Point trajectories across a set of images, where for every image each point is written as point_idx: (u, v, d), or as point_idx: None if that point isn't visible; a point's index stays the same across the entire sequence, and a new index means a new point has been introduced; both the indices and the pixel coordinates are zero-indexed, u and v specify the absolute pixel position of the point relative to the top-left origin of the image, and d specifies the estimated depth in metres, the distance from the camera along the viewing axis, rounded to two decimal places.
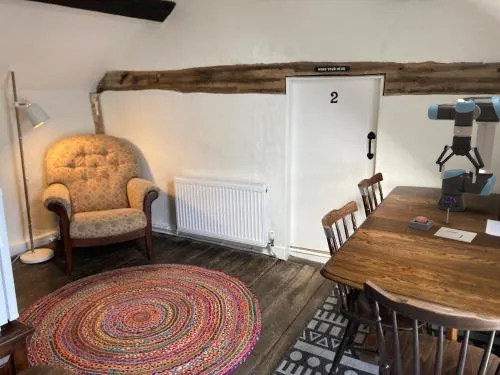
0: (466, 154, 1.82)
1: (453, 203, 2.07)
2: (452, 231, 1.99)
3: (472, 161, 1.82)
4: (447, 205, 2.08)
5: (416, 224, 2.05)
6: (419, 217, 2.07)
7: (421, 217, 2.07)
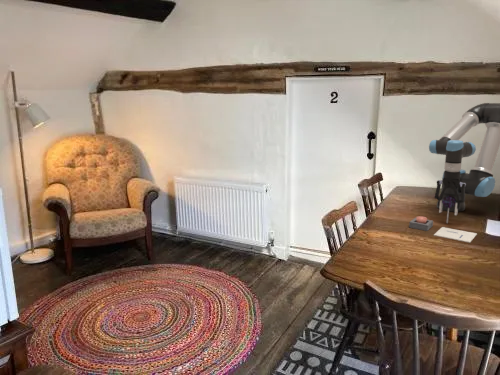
0: (454, 188, 2.05)
1: (453, 203, 2.07)
2: (452, 231, 1.99)
3: (456, 195, 2.06)
4: (447, 205, 2.08)
5: (416, 224, 2.05)
6: (419, 217, 2.07)
7: (421, 217, 2.07)
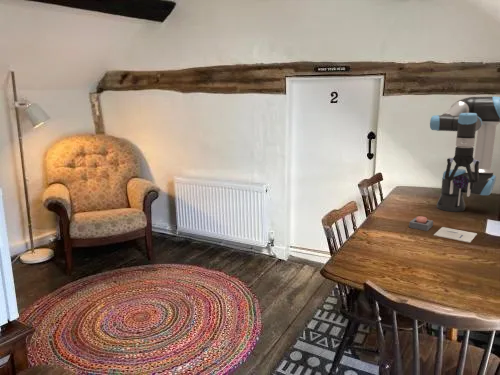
0: (466, 166, 1.85)
1: (465, 183, 1.86)
2: (452, 231, 1.99)
3: (469, 174, 1.85)
4: (459, 185, 1.88)
5: (416, 224, 2.05)
6: (419, 217, 2.07)
7: (421, 217, 2.07)
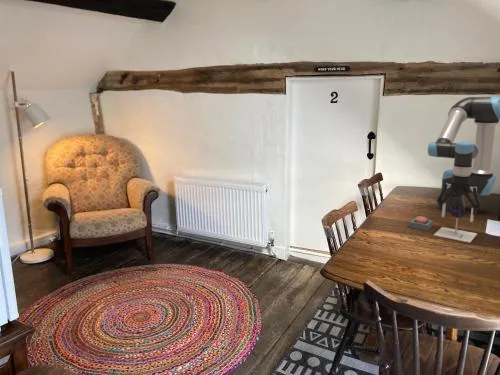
0: (465, 193, 1.88)
1: (462, 213, 1.90)
2: (452, 231, 1.99)
3: (470, 200, 1.87)
4: (456, 215, 1.91)
5: (416, 224, 2.05)
6: (419, 217, 2.07)
7: (421, 217, 2.07)
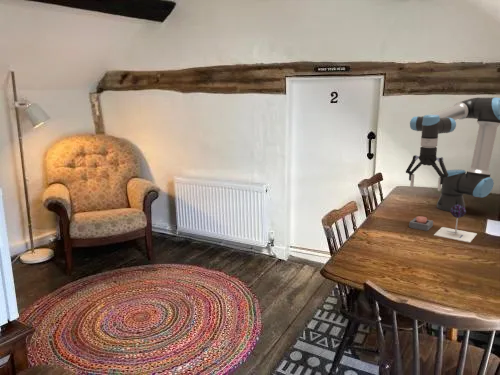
0: (432, 164, 1.97)
1: (462, 212, 1.90)
2: (452, 231, 1.99)
3: (437, 170, 1.96)
4: (456, 215, 1.91)
5: (416, 224, 2.05)
6: (419, 217, 2.07)
7: (421, 217, 2.07)
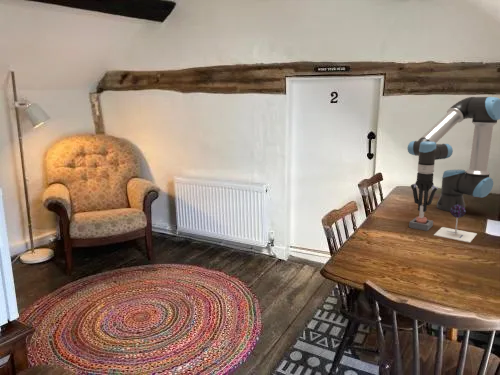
0: (425, 190, 2.01)
1: (462, 212, 1.90)
2: (452, 231, 1.99)
3: (425, 198, 2.03)
4: (456, 215, 1.91)
5: (416, 224, 2.05)
6: None
7: None
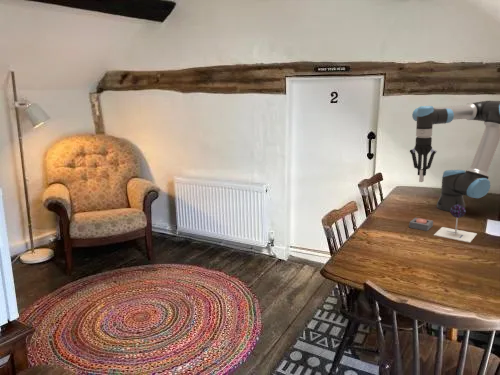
0: (424, 154, 2.06)
1: (462, 212, 1.90)
2: (452, 231, 1.99)
3: (424, 162, 2.07)
4: (456, 215, 1.91)
5: (416, 224, 2.05)
6: (419, 219, 2.08)
7: (421, 219, 2.08)
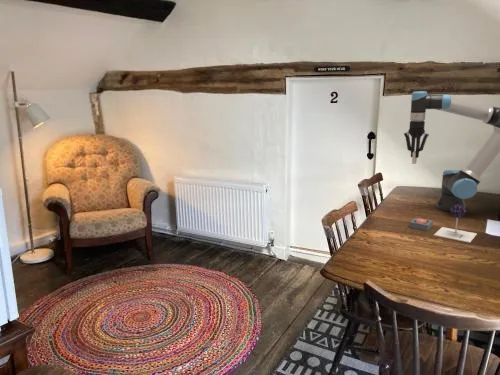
0: (417, 137, 2.17)
1: (462, 212, 1.90)
2: (452, 231, 1.99)
3: (417, 144, 2.19)
4: (456, 215, 1.91)
5: (416, 224, 2.05)
6: (419, 219, 2.08)
7: (421, 219, 2.08)
